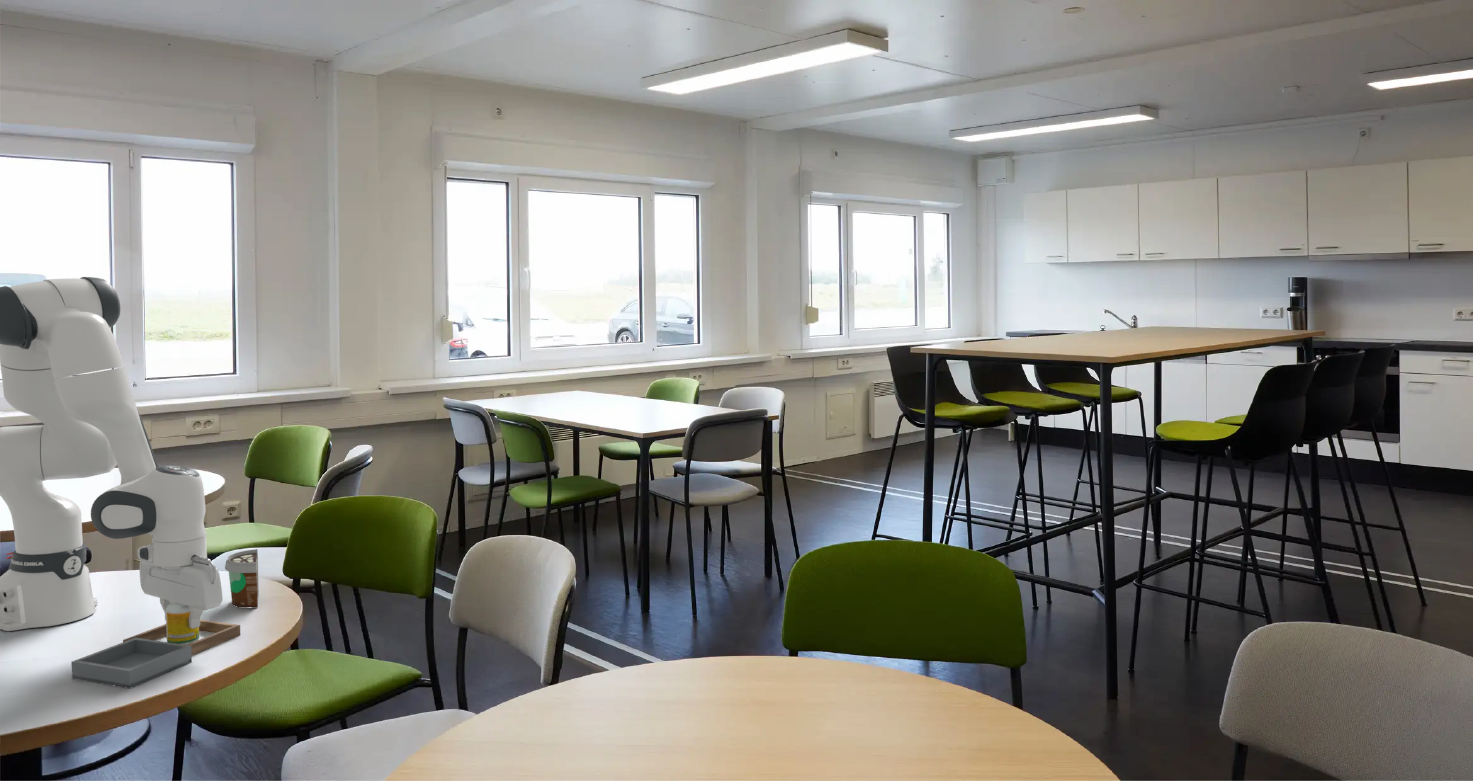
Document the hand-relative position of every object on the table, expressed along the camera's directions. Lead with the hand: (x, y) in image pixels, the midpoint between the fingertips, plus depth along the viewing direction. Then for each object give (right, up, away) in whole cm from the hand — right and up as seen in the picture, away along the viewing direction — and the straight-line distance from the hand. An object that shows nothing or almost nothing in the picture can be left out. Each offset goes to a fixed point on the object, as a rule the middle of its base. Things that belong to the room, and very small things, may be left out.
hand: (182, 624), depth 184 cm
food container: (-1, -2, +25) cm, 25 cm away
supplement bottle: (0, -4, 0) cm, 4 cm away
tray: (-1, -5, -13) cm, 14 cm away
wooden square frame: (0, -4, 0) cm, 4 cm away
